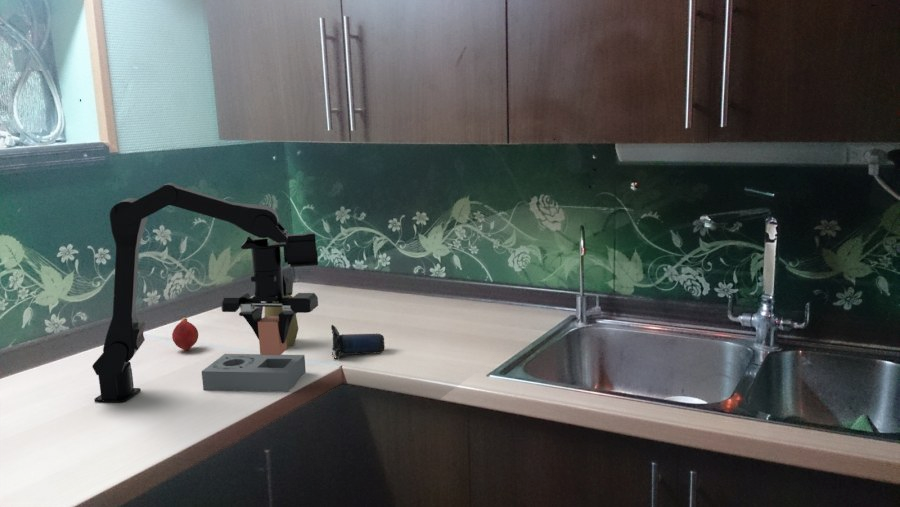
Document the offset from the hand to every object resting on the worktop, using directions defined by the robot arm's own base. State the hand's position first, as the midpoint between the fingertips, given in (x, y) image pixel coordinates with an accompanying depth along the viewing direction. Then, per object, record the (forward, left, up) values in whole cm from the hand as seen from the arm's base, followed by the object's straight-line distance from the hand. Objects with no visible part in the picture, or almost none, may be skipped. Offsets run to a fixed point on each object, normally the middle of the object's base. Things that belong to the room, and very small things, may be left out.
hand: (273, 342), depth 155 cm
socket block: (0, +4, -8) cm, 10 cm away
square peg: (0, 0, -2) cm, 2 cm away
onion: (+19, +29, -9) cm, 36 cm away
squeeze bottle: (+24, +7, -9) cm, 27 cm away
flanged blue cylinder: (+19, -13, -9) cm, 24 cm away
